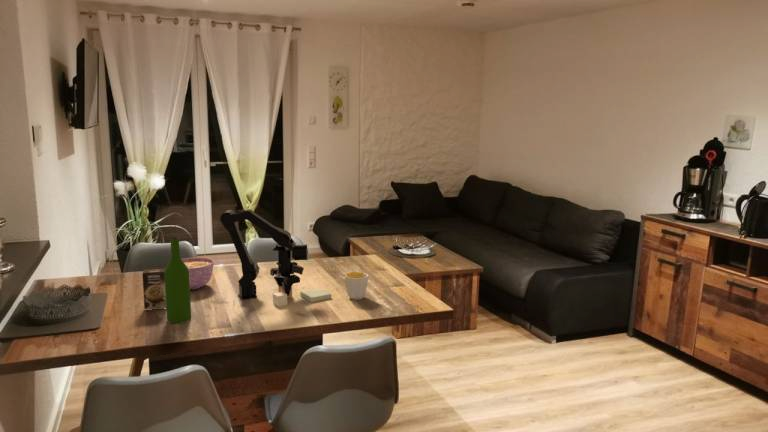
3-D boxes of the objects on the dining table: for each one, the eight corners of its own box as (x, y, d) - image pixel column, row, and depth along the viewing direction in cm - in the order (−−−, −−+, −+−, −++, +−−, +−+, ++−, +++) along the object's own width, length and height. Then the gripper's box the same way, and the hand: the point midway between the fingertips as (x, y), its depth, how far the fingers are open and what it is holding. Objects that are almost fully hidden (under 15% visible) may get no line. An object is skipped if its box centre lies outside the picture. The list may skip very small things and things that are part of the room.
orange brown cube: (282, 298, 256) (282, 288, 255) (278, 296, 259) (278, 286, 259) (292, 297, 258) (291, 287, 257) (287, 294, 262) (287, 284, 261)
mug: (371, 300, 255) (371, 276, 253) (349, 302, 251) (349, 279, 249) (361, 291, 267) (361, 268, 266) (339, 293, 264) (339, 271, 262)
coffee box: (144, 311, 239) (141, 273, 236) (146, 306, 245) (143, 268, 242) (167, 309, 241) (165, 271, 238) (169, 304, 247) (166, 267, 244)
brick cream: (277, 306, 246) (277, 296, 245) (273, 303, 250) (272, 293, 249) (287, 304, 248) (287, 294, 248) (282, 301, 252) (282, 291, 251)
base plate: (310, 302, 252) (310, 297, 251) (300, 296, 260) (300, 291, 259) (331, 298, 257) (331, 293, 257) (320, 292, 265) (320, 288, 265)
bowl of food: (221, 281, 280) (220, 258, 278) (205, 294, 261) (203, 269, 259) (181, 279, 282) (180, 256, 280) (162, 292, 263) (160, 267, 261)
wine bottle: (183, 314, 236) (178, 235, 230) (195, 319, 230) (191, 238, 224) (162, 320, 229) (157, 238, 223) (175, 325, 223) (170, 242, 217)
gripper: (310, 262, 253) (311, 296, 255) (292, 253, 268) (292, 286, 271) (287, 265, 247) (287, 301, 249) (269, 256, 262) (270, 290, 265)
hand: (285, 294), depth 259 cm, fingers closed on orange brown cube, 4 cm apart
